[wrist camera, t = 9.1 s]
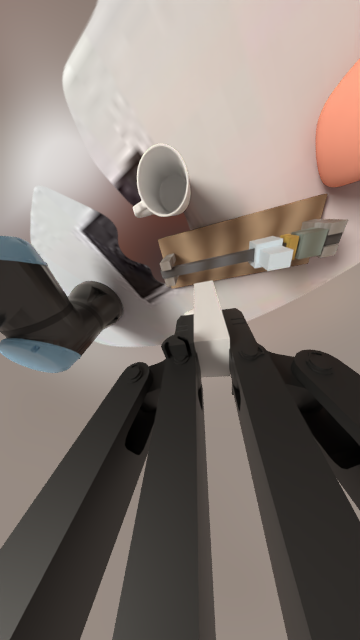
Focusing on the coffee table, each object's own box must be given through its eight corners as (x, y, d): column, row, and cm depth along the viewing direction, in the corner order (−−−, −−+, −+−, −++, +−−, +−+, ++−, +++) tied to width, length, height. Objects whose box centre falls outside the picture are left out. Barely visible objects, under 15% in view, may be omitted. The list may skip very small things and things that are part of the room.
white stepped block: (248, 262, 29) (263, 276, 22) (249, 241, 26) (266, 249, 20) (269, 258, 28) (292, 271, 21) (272, 235, 26) (299, 242, 19)
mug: (181, 160, 25) (171, 125, 15) (197, 203, 28) (197, 196, 18) (138, 197, 28) (108, 188, 19) (157, 232, 31) (139, 238, 22)
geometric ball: (201, 311, 46) (213, 332, 43) (179, 322, 46) (189, 343, 43) (199, 299, 39) (213, 322, 36) (174, 311, 39) (186, 335, 36)
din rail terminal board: (172, 286, 39) (166, 302, 32) (159, 239, 32) (148, 245, 25) (304, 262, 32) (335, 274, 25) (322, 194, 25) (371, 185, 18)
